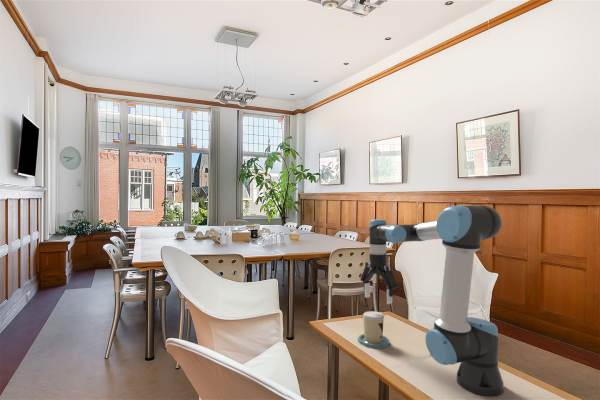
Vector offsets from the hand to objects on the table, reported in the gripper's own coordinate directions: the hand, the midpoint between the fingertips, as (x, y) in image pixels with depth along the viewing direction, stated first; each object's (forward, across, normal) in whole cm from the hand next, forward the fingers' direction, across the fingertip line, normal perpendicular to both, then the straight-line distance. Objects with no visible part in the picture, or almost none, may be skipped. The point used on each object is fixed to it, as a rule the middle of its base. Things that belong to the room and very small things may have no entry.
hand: (378, 300), depth 164 cm
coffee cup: (+18, +2, +2) cm, 19 cm away
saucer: (+19, +2, +2) cm, 19 cm away
